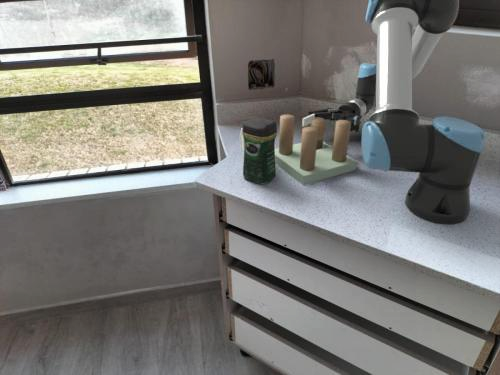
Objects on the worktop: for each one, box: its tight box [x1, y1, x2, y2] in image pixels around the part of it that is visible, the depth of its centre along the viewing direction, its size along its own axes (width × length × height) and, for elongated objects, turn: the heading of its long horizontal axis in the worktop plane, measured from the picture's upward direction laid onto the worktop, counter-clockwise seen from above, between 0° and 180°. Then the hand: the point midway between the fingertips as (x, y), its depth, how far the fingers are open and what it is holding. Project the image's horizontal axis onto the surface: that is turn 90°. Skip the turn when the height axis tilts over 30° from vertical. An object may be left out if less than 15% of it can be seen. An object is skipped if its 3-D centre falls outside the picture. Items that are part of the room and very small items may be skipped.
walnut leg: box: [310, 117, 326, 150], centre depth 122 cm, size 4×4×12 cm
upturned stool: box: [275, 113, 358, 186], centre depth 115 cm, size 20×20×15 cm
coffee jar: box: [242, 115, 278, 185], centre depth 106 cm, size 10×8×19 cm
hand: (319, 127), depth 122 cm, fingers open, 13 cm apart
